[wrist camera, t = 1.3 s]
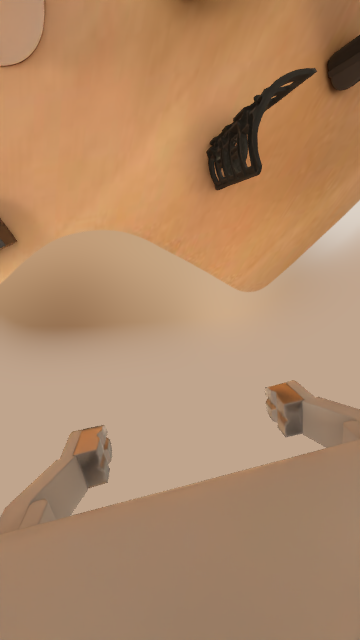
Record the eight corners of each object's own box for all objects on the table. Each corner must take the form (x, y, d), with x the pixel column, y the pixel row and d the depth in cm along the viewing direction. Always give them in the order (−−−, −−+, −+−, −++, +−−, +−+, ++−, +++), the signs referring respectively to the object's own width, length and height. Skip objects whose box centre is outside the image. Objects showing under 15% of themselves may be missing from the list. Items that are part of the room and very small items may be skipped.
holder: (233, 197, 47) (292, 184, 28) (197, 186, 45) (234, 164, 27) (253, 130, 43) (336, 66, 25) (214, 115, 41) (272, 34, 23)
